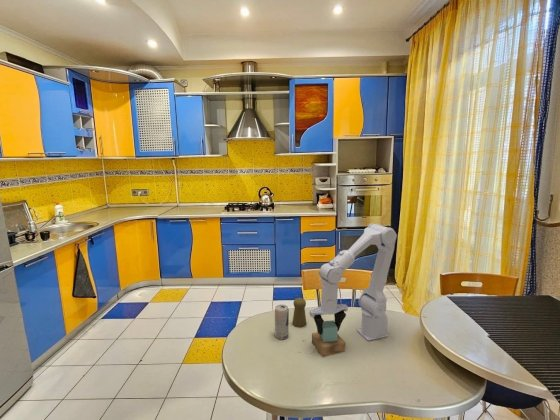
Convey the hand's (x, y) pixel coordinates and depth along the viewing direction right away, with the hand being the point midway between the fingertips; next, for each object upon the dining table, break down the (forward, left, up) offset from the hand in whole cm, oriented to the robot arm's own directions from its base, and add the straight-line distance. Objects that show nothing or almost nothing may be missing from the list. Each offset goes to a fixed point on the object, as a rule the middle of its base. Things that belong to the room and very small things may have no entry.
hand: (328, 331), depth 112 cm
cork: (+4, -18, -6) cm, 20 cm away
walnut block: (0, 0, -7) cm, 7 cm away
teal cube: (0, 0, -2) cm, 2 cm away
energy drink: (+14, -12, -6) cm, 20 cm away
